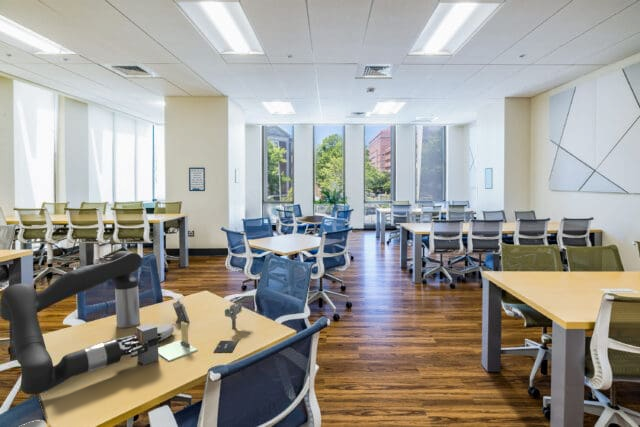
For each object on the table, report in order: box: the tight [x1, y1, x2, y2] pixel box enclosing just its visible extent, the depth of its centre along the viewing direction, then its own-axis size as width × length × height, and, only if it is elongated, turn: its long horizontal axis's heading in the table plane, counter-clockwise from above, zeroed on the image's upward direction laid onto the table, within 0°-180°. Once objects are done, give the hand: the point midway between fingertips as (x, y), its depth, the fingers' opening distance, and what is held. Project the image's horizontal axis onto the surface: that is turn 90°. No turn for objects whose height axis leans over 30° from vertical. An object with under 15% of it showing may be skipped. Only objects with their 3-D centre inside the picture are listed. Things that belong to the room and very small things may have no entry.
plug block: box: [135, 322, 160, 366], centre depth 124 cm, size 6×5×12 cm
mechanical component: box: [224, 302, 243, 330], centre depth 152 cm, size 3×10×10 cm, turn 158°
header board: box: [158, 322, 199, 362], centre depth 131 cm, size 13×11×10 cm
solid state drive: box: [212, 340, 239, 354], centre depth 135 cm, size 7×10×1 cm
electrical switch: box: [172, 298, 190, 324], centre depth 163 cm, size 9×5×9 cm, turn 30°
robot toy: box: [134, 322, 177, 342], centre depth 143 cm, size 12×4×15 cm
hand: (154, 338), depth 126 cm, fingers closed on plug block, 5 cm apart
